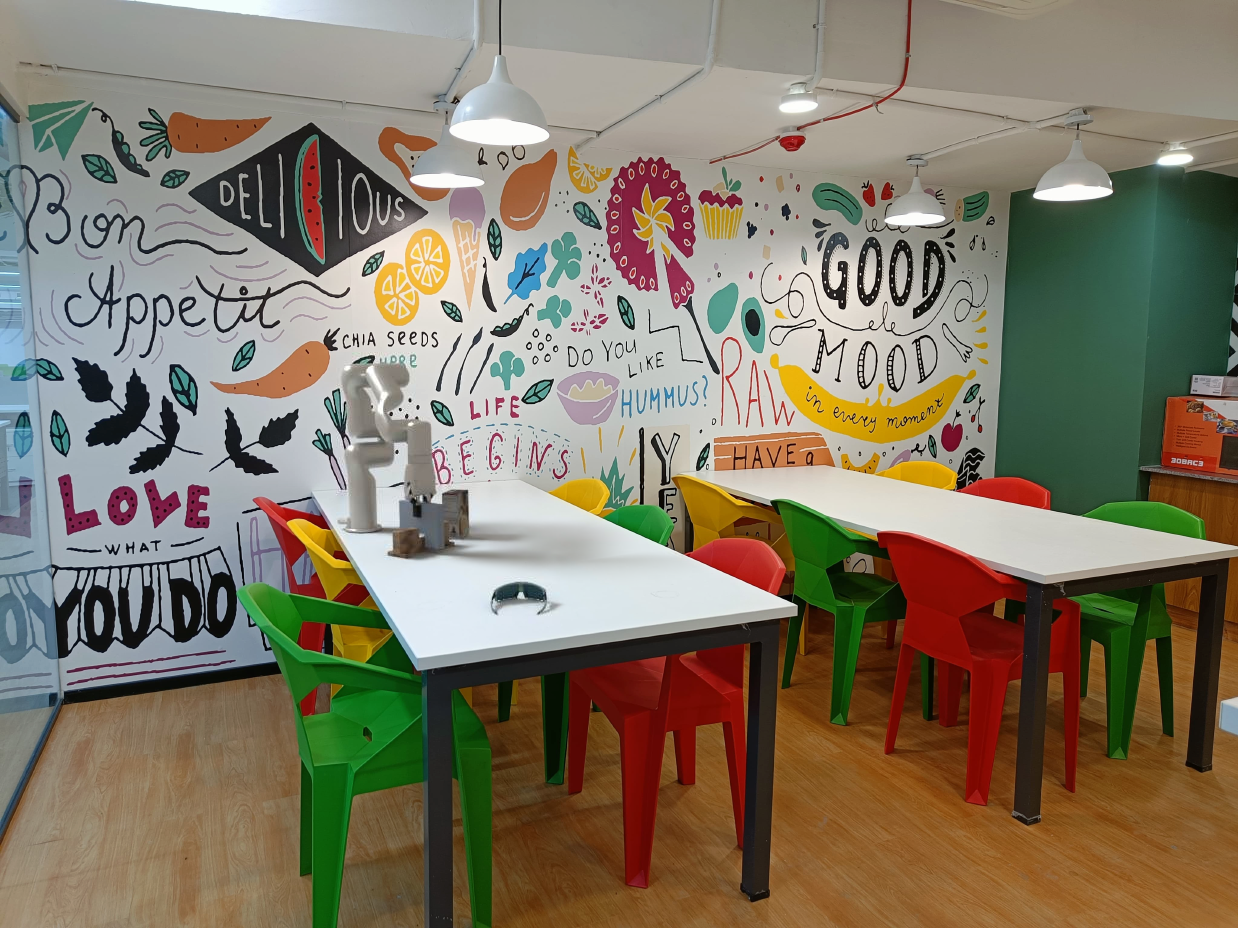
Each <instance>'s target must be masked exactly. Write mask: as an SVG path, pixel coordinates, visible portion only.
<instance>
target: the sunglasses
mask: <svg viewBox="0 0 1238 928" xmlns="http://www.w3.org/2000/svg"><path fill="white" fill-rule="evenodd" d="M520 593H522V595H523V597H524V599H527V598H533V599H532V600H536V599H539V600H538V601H540V600H543V601H544V605H543V606H542V608H540V610H538V612H537V613H536V614H538V613H539V614H541V613H542V612H544V610H545V609H546V606H547V604H548V603H547V601H548V597H547V590H546V589H545V588H544V587H542V586H541V585H539V584H536V583H533V582H530V581H529V582H528V581H514V582H509V583H504V584H503V585H501V586H498V587H496V589H494V590H493V593H492V596H491V600H490V602H489V603H490V608H491V611H492V612H493V613H494V614H495V615H496V614H497V615H498V612H497V611H496V610H495V609H494V607H493V604H494V601H495V602H496V601H498V600H501V601H504V600H503V599H507V600H509V599H508V598H515V599H518V597H519V595H520ZM543 601H542V602H543ZM540 612H541V613H540ZM539 614H538V615H539Z"/></svg>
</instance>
